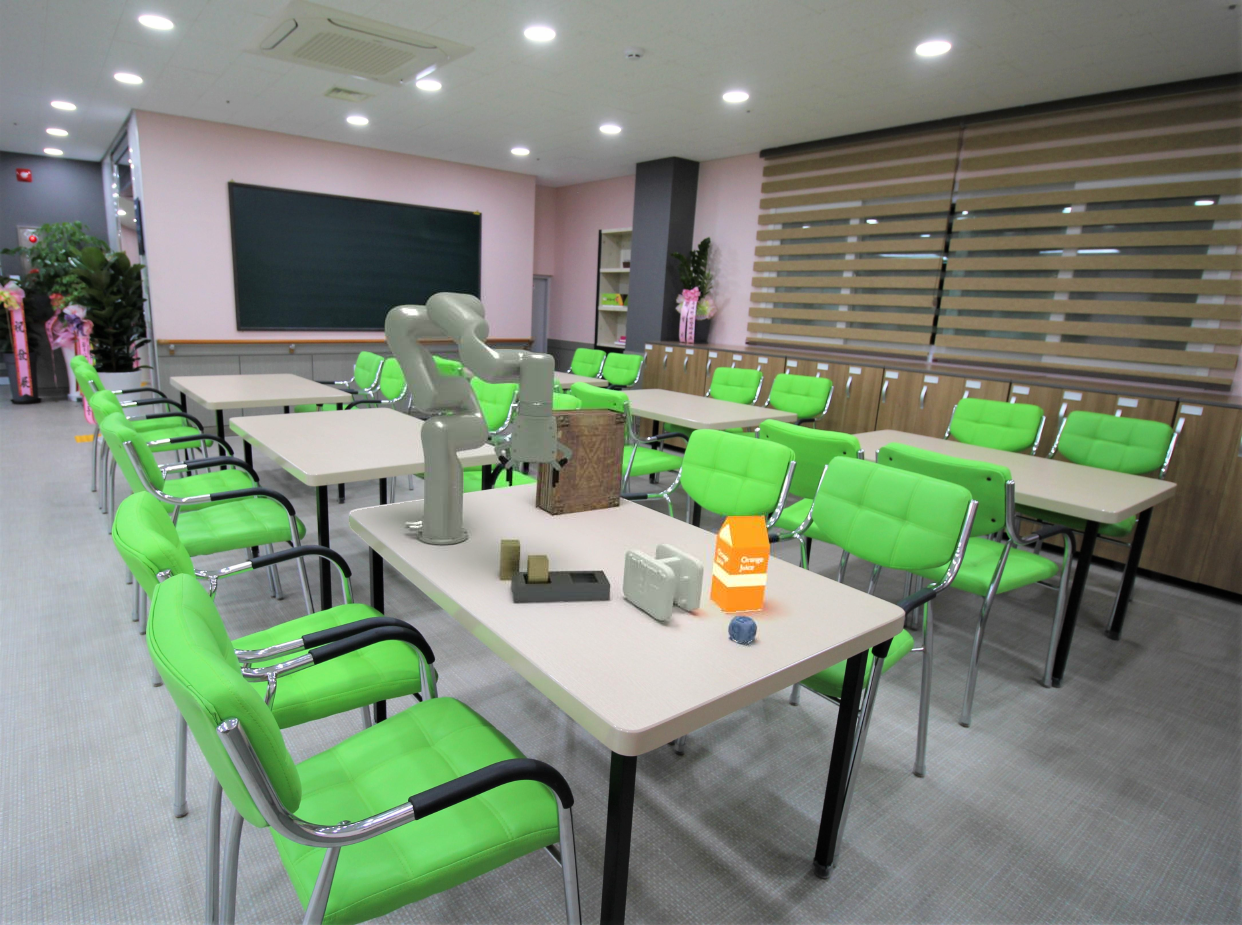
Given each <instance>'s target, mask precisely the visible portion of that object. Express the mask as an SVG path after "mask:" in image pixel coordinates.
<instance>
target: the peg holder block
mask: <svg viewBox="0 0 1242 925" xmlns="http://www.w3.org/2000/svg"><path fill="white" fill-rule="evenodd" d="M549 568H550V561H549V558H548V555H547V554H536V555H535V554H529V555H527V563H526V571H519V572H512V579H511V580H510V582H511V584H510V586H511V587H510V589H511V592H512V593H511V595H512V594H513V595H512V601H513V603H514V604H515V603H516V604H520V602H521V603H522V604H523V602H524V604H525V603H553V602H554V601H555V602H557V601H558V602H559V601H563V602H591V601H592V602H594V601H595V600H596V601H595V602H597V600H598V602H599V600H601V601H610V596H611V583H610V581H609V580H608V577H607V575H606V574H605V572H604V570H556V571H555V570H551V571H549ZM593 600H594V601H593ZM555 602H554V603H555ZM558 602H557V603H558Z"/></svg>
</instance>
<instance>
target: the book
mask: <svg viewBox="0 0 1242 925" xmlns="http://www.w3.org/2000/svg"><path fill="white" fill-rule="evenodd" d="M552 416H554V417H555V418H556V424H557V442H559V443H560V444H562V445H564V446H566V447H567V448H569V449H571V450H572V452H573V454H572V455H571V457H570V459H569V460H568V462H567V463H566V464H565V465H564V466H563V467H562V468H561V469H560V470H559V483H556V488H553V487H552V471H553V468H554V466H553V465H552V464H551V462H550V463H540V462H537V476H536V477H537V478H536V491H535V492H536V493H535V509H538V508H537V507H541V508H540V509H543V510H545V511H547V512H549V513H550V515H551V516H553V517H554V515H556V516H562V514H563V515H566V514H567V515H568V514H575V513H583V512H589V510H590V511H596V510H597V511H598V510H604V509H609V508H616V507H620V504H621V503H620V502H621V488H622V479H623V478H622V476H623V462H624V452H625V450H624V449H625V442H626V441H625V439H626V438H625V437H626V427H627V426H626V425H627V417H628V415H627V413H626V412H623V411H619V410H616V409H611V408H575V409H573V408H572V409H571V408H570V409H553V412H552ZM564 455H565V453H564V452H562V451H560V450H559V449H557V457H556V459H557V461H558V462H559V461H560V460H561V459H562V458H563V457H564Z"/></svg>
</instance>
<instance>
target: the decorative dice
mask: <svg viewBox="0 0 1242 925" xmlns="http://www.w3.org/2000/svg"><path fill="white" fill-rule="evenodd" d="M729 622H730V623H729V625H728V630H727V632H728V634H729V637H730V638H732V639H734V640H736V641H738V642H741V643H740V644H742V643H747V644H749V643H748V642H749V641H751V640H753V641H754V639H755V637H756V636H757V632H758V631H757V630H758V625H757V623H756V622H755V620H754V619H753V618H751V617H749V616H748V615H747V616H746V615H735V616H734V617H733V618H731V620H730V621H729ZM738 642H737V643H738Z"/></svg>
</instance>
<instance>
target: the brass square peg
mask: <svg viewBox="0 0 1242 925" xmlns="http://www.w3.org/2000/svg"><path fill="white" fill-rule="evenodd" d="M499 557H500V558H499V559H500V560H499V561H500V562H499V578H500V579H499V580H500V581H511V579H512V572H520V567H521V566H520V565H521V564H520V563H521V543H520V539H501V540H500V556H499Z"/></svg>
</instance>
